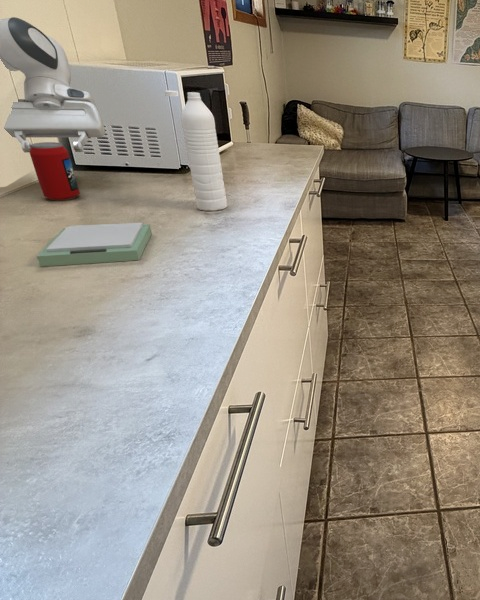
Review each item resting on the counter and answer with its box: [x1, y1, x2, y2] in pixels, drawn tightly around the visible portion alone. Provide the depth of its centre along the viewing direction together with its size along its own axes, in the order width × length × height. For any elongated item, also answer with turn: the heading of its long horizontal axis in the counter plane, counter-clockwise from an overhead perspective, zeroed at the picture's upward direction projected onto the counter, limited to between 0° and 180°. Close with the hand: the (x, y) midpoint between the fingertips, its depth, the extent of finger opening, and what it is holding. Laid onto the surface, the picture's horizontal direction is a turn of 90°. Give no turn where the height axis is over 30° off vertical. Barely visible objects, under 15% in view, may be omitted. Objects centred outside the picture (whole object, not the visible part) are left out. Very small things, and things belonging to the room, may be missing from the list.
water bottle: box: [164, 89, 228, 212], centre depth 105 cm, size 9×6×25 cm
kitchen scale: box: [36, 222, 153, 268], centre depth 85 cm, size 14×14×2 cm
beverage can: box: [29, 141, 81, 201], centre depth 107 cm, size 7×7×12 cm
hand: (53, 150), depth 108 cm, fingers open, 8 cm apart
